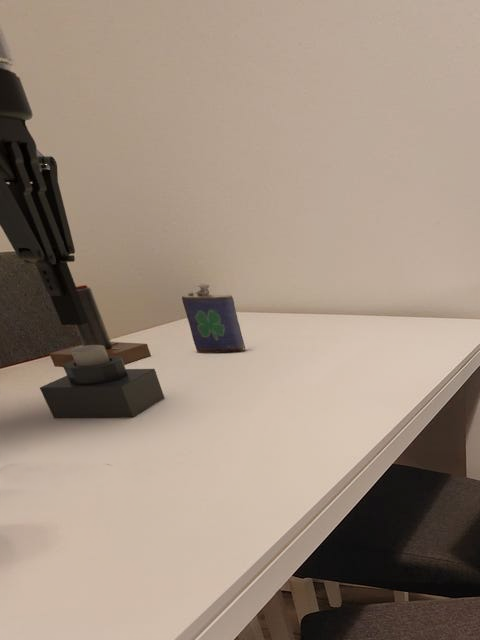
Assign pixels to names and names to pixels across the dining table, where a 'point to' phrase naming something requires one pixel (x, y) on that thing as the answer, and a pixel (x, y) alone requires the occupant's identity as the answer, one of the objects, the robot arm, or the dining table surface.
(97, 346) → the white short cylinder
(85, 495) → the dining table surface
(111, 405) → the button base
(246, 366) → the dining table surface
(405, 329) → the dining table surface
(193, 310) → the flask
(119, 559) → the dining table surface
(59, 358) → the brown wooden flat block
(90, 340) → the black tall block
